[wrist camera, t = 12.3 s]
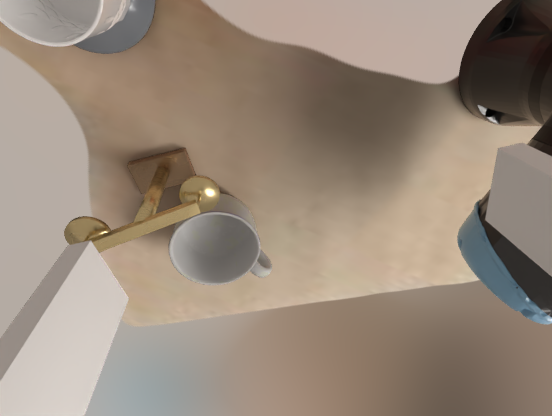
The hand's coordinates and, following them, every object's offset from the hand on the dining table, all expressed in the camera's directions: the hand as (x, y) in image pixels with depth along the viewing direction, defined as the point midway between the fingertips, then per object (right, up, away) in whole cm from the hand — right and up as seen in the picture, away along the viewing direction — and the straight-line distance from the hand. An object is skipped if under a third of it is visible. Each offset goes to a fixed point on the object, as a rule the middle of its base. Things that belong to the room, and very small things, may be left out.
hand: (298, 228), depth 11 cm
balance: (-15, +5, +30) cm, 34 cm away
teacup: (-8, -1, +35) cm, 36 cm away
